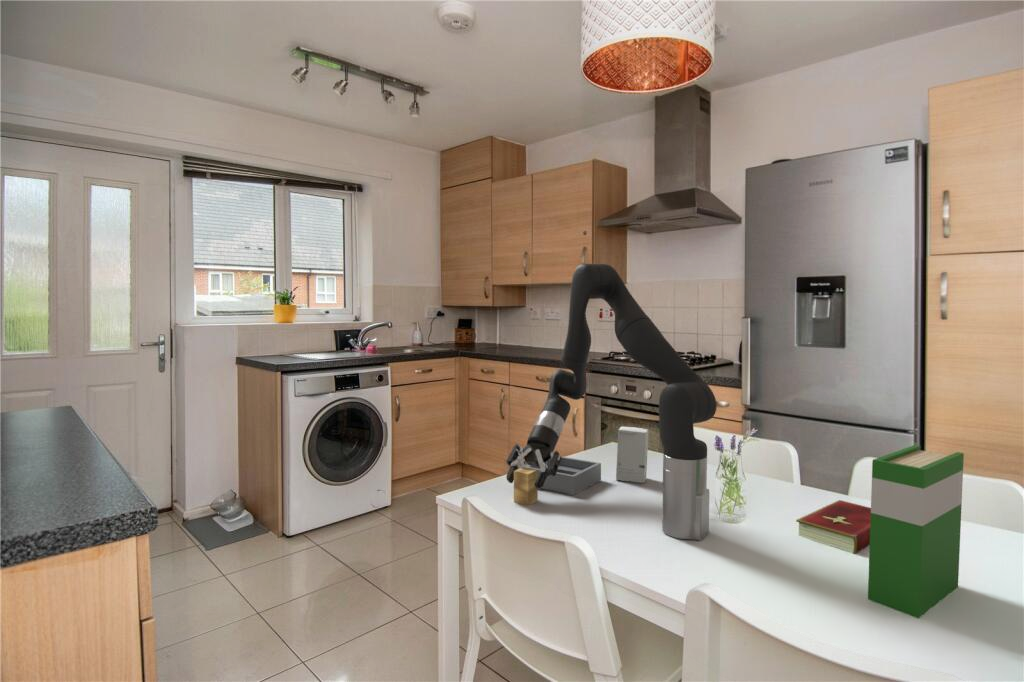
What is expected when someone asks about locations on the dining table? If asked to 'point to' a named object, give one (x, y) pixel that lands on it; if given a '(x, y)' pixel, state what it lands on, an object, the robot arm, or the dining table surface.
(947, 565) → the hardback book
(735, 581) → the dining table surface
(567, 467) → the walled box
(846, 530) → the hardcover book
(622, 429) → the skincare box
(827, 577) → the dining table surface
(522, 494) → the block
